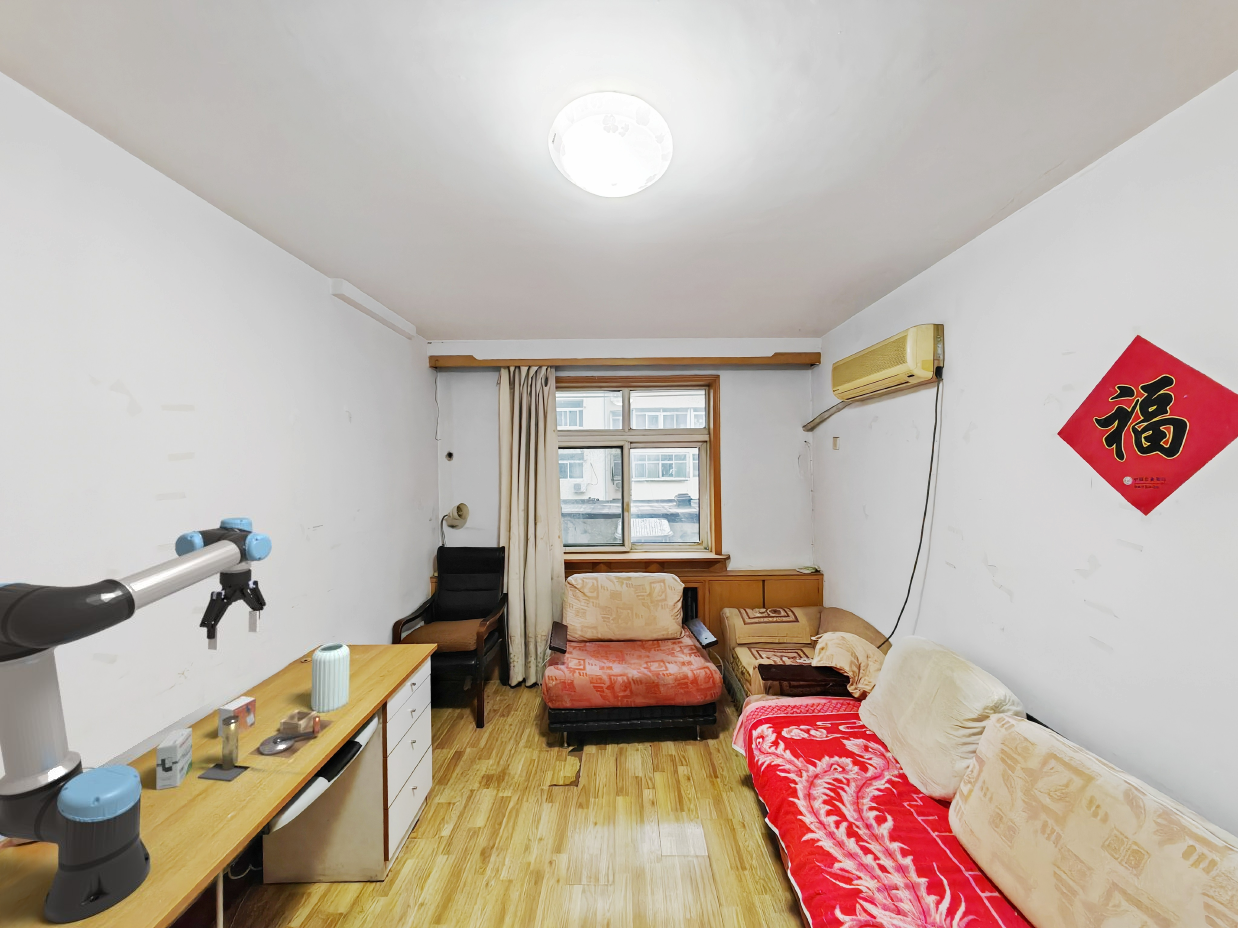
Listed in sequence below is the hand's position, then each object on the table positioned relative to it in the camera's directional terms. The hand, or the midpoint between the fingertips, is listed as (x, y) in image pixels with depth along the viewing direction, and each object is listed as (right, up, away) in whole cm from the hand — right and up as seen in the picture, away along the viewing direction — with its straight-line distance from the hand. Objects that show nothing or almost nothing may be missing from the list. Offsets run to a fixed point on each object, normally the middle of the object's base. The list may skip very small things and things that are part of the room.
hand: (234, 640), depth 145 cm
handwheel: (+14, -33, +4) cm, 36 cm away
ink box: (-8, -35, -11) cm, 37 cm away
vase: (+12, -35, +28) cm, 46 cm away
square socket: (+10, -33, +13) cm, 37 cm away
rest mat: (+3, -35, -6) cm, 36 cm away
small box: (-7, -35, +10) cm, 37 cm away
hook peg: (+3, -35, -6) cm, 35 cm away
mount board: (+12, -35, +8) cm, 38 cm away
